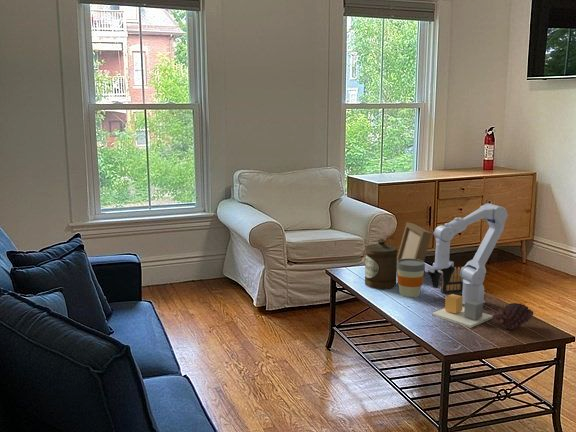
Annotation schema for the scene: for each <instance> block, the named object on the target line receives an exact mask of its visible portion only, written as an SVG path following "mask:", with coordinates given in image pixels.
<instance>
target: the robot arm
mask: <svg viewBox="0 0 576 432" xmlns="http://www.w3.org/2000/svg"><path fill="white" fill-rule="evenodd" d="M508 217H509V215H508V212H507V209H506V208H505V207H504V206H500V205H496V204H493V203H490V202H487V203H484V205H480V207H479V208H478V209H476V210H474V211H473V212H471V213H469V214H468V215H465V217H464V216H463V218H462V217H454V218H453V220H451V221H450V222H446V223H444V225H439V226H436V228H435V229H434V231H433V233H432V234H433V236H434V238H435V254H434V262H433V263H432V266H430V267H429V268H428V269H429V270H428V271H427V272H428V273H427V274H428V275H429V276H430V280H431V284H432V288H434V289H438V288H439V283H440V279H441V276H442V277H443V283H444V284H449V281H450V278H451V275H452V273H453V274H454V270H455V266H454V265H455V264H454V263H455V262H454V261H451V260H450V251H451V248H450V247H451V240H452V239H453V238H454V237H455V236H456V235H458V234H459V233H462V232H464V231H466V230H467V227H468V226H469V225H471V224H473V223H476V222H478V221H480V220H483V219H485V221H486V222H487V224H488V230H487V231H486V233H485V235H484V237H483V239H482V241H481V242H480V245H479V247H478V248H477V251H476V252H475V254H474V256H473V258H472V259H470V260H469V261H467V262H466V264H465V265H464V266H463V268H462V269H461V268H460V276H461V278H462V279H463V292H461V293H462V295H461V296H463V305H464V306H465V302H467V301H469V300H476V301H480V302H483V304H485V303H486V301H485V300H484V299H485V298H484V297H485V286H484V284H483V283H484V281H485V279H486V278H485V277H486V273H487V269H486V263H487V262H488V260H489V258H490V257H491V254H492V253H493V250H494V249H495V247H496V245H497V243H498V241H499V239H500V237H501V235H502V234H503V231H504V230H505V225H506V221H507V219H508ZM440 270H441V271H442V272H439V271H440Z"/></svg>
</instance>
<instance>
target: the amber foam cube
mask: <svg viewBox="0 0 576 432" xmlns="http://www.w3.org/2000/svg"><path fill="white" fill-rule="evenodd" d="M444 299H445V300H444V308H445V311H448V312H452V313H458V312H460V311H462V309H463V307H464V306H463V305H464V304H463V296H462V295H458V294H455V293H450V294H449V295H446V296H445V297H444Z"/></svg>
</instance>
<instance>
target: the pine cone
mask: <svg viewBox="0 0 576 432" xmlns="http://www.w3.org/2000/svg"><path fill="white" fill-rule="evenodd" d="M493 313H494V314H493V318H495V320H497V321H498V322H500V324H501V326H502V327H504V328H507V329H508V330H509V329H511V330H514V329H517V328H519V327H521V326H522V325H524V324H526V323H528V322H529V321H530V320H531V319H532V317H533V316H534V310H532V309H529V306H527V305H526V304H524V303H523V304H522V303H517V302H513V303H508V304H506V305H505V306H504V307H503V309H501V308H499V309H498V311H495V312H493Z"/></svg>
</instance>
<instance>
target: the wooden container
mask: <svg viewBox="0 0 576 432" xmlns="http://www.w3.org/2000/svg"><path fill="white" fill-rule="evenodd" d="M377 242H378V243H372V244H367V245H366V246H365V264H364V266H365V268H364V285H365V286H367V287H368V288H372V289H379V290H387V289H393V288H395V287H397V272H398V271H397V255H398V247H397V246H396V245H393V244H386V240H385V239H383V238H379V239H378V241H377Z"/></svg>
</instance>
